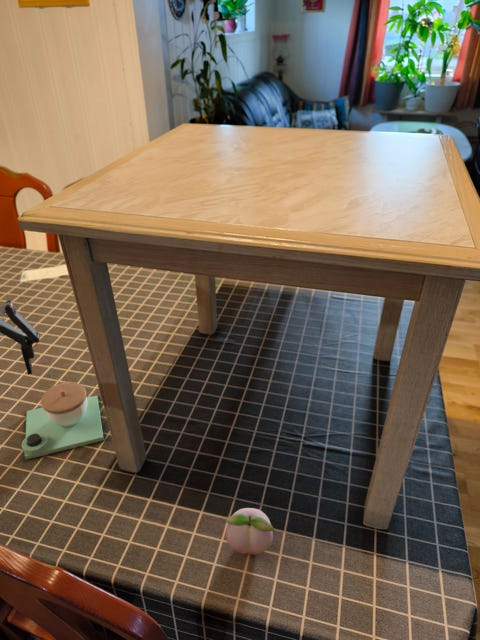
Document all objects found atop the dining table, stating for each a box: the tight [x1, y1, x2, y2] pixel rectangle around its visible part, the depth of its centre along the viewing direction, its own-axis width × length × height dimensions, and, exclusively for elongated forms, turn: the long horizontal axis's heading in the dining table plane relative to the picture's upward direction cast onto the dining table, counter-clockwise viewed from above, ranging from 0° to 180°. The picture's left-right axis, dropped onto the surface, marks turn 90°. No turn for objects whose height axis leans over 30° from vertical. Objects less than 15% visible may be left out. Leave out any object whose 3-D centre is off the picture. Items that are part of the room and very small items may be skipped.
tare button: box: [27, 434, 41, 447], centre depth 106 cm, size 3×3×2 cm
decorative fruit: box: [224, 507, 275, 556], centre depth 86 cm, size 9×8×10 cm
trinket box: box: [40, 381, 88, 427], centre depth 112 cm, size 11×11×9 cm
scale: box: [21, 395, 105, 460], centre depth 113 cm, size 18×16×4 cm
